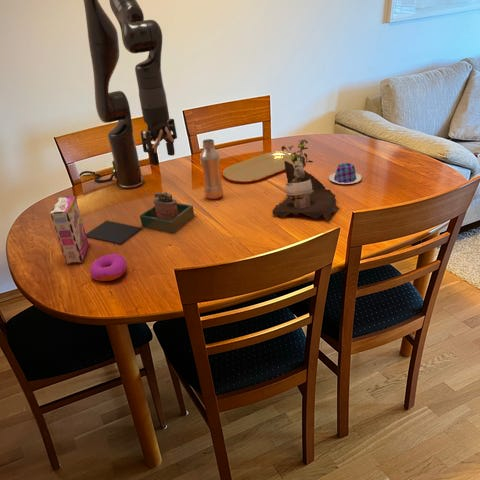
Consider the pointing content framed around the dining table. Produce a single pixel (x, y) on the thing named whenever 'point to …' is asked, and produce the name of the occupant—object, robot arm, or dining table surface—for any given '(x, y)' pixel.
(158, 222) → the frame
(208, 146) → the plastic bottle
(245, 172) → the serving platter
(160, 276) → the dining table surface
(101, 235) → the mat
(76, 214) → the candy bar box
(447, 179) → the dining table surface
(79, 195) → the dining table surface
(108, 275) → the donut
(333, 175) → the purple patterned hat
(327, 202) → the potted plant
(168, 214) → the lighter
